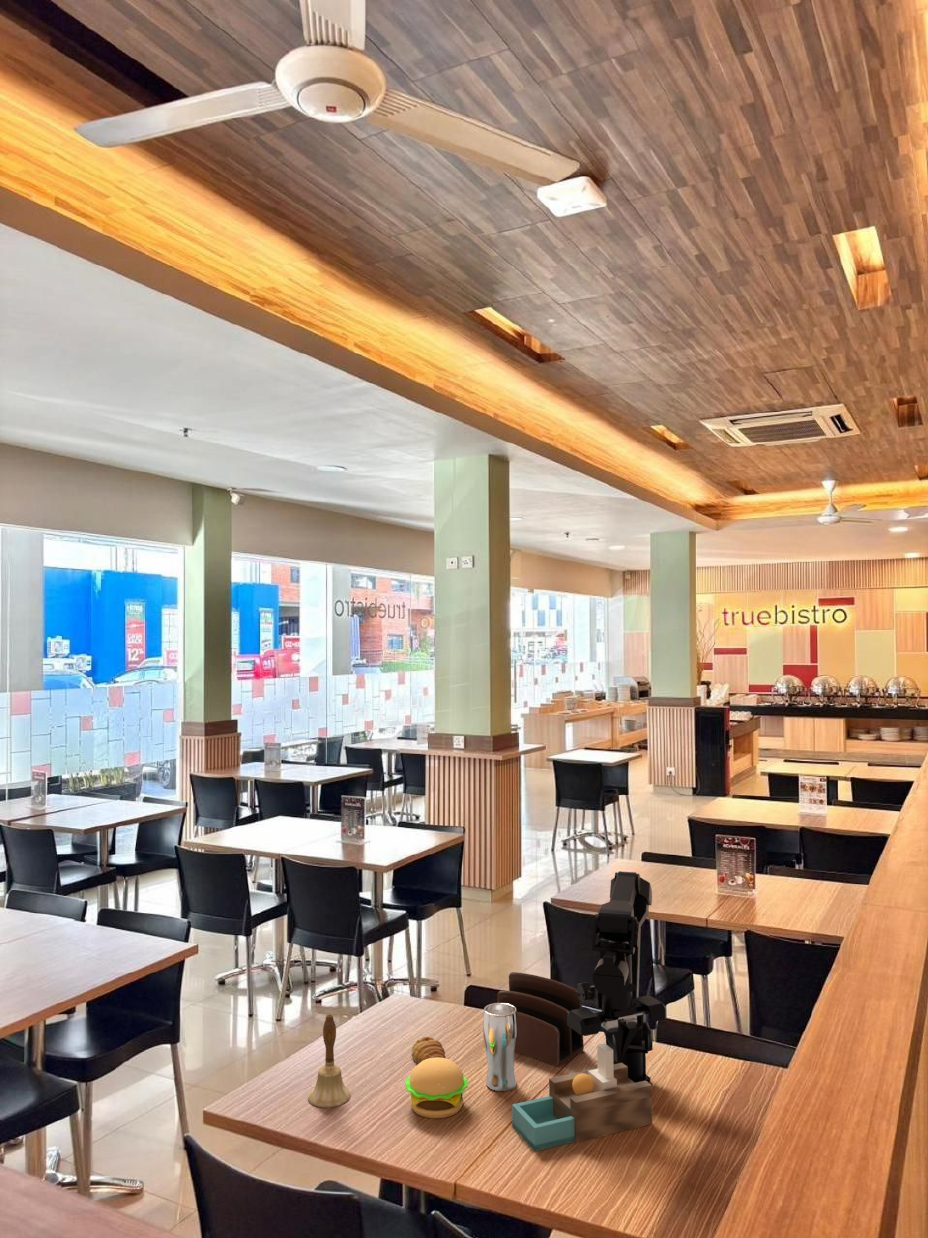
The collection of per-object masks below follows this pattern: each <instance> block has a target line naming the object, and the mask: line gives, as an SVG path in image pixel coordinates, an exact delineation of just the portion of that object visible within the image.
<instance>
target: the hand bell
mask: <svg viewBox="0 0 928 1238" xmlns="http://www.w3.org/2000/svg"><path fill="white" fill-rule="evenodd" d="M322 1039H323V1043H324V1045H325V1059H324V1060H325V1062H324V1063H325V1064H324V1066H321V1067H319V1068H318V1071H317V1078H316V1083H315V1086H314V1088H313V1089H312V1090H311V1091H310V1092H309V1094H308V1096H307V1100H308V1102H309V1103H310V1104H311V1105H312V1106H314V1107H318V1108H322V1109H323V1108H327V1109H329V1108H336V1107H338V1106H339V1107H340V1106H342V1105H344V1104H346V1103H347V1102H348V1101H350V1099H351V1097H352V1094H351V1092H350V1090H349V1088H347V1087H346V1086H345V1084H344V1081H343V1077H342V1076H343V1075H342V1069H341V1067H340V1066H339V1065H336V1064H335V1057H334V1056H335V1054H334V1051H335V1050H334V1049H335V1048H334V1047H335V1042H336V1039H337V1026H336V1022H335V1020H334V1016H333V1014H332V1013H331V1014H327V1015H326V1016H325V1021H324V1024H323V1027H322Z"/></svg>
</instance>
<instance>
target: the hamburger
mask: <svg viewBox="0 0 928 1238" xmlns="http://www.w3.org/2000/svg"><path fill="white" fill-rule="evenodd" d="M468 1086H469V1081H468V1078H466V1077H465V1075H464V1073H463V1072H462V1070H461V1068H460V1066H459V1065H458V1064H456V1062H454V1061H453V1060H451V1059H449V1058H446V1057H445V1058H429V1059H425V1060H423V1061H422V1062H420V1063H419V1064H418V1063H417V1065H415V1067H414V1068H413V1069H412V1071H411V1073H410V1075H408V1077H407V1079H406V1082H405V1089H406V1091H407V1092H408V1093H410V1101H409V1102H410V1107H411V1108H412V1110H413V1111H414V1112H415V1113H416V1114H417V1115H419V1116H421V1117H423V1118H427V1119H444V1118H449V1117H452V1116H454V1115H455V1114H457V1113H458V1112H460V1110H461V1108H462V1107H463V1105H464V1097H463V1095H464V1094H463V1093H464V1091H466V1089H467V1088H468Z"/></svg>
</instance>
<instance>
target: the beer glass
mask: <svg viewBox="0 0 928 1238" xmlns="http://www.w3.org/2000/svg"><path fill="white" fill-rule="evenodd" d="M483 1010H484V1012H483V1024H482V1026H483V1027H482V1028H483V1030H482V1032H483V1044H484V1051H485V1055H486V1059H487V1075H486V1080H485V1084H487V1086H488V1087H489V1088H490V1089H489V1088H488V1087H487V1086H486V1087H487V1088H488V1089H489V1090H491V1089H492V1091H494V1090H495V1091H494V1092H499V1091H504V1092H508V1091H512V1090H513V1089H515V1088H516V1086H517V1080H516V1074H515V1058H516V1053H517V1052H516V1047H517V1038H518V1024H517V1013H516V1007H515V1006H513V1005H511V1004H507V1003H498V1002H494V1003H490V1004H487V1005H486V1006H484V1008H483Z"/></svg>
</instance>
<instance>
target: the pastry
mask: <svg viewBox="0 0 928 1238" xmlns="http://www.w3.org/2000/svg"><path fill="white" fill-rule="evenodd" d="M411 1057H412V1059H413V1060H414V1062H415V1063H416V1064H417V1065H418V1064H419V1063H420V1062H422V1061H423V1060H425V1059H429V1058H446V1052H445V1048H444V1047H443V1045H442V1042H441V1041H439V1040H435V1038H433V1037H432V1036H423V1037H421V1038H420V1039H417V1040H416V1041H415V1042H414V1043H413V1046H412V1048H411Z"/></svg>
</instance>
